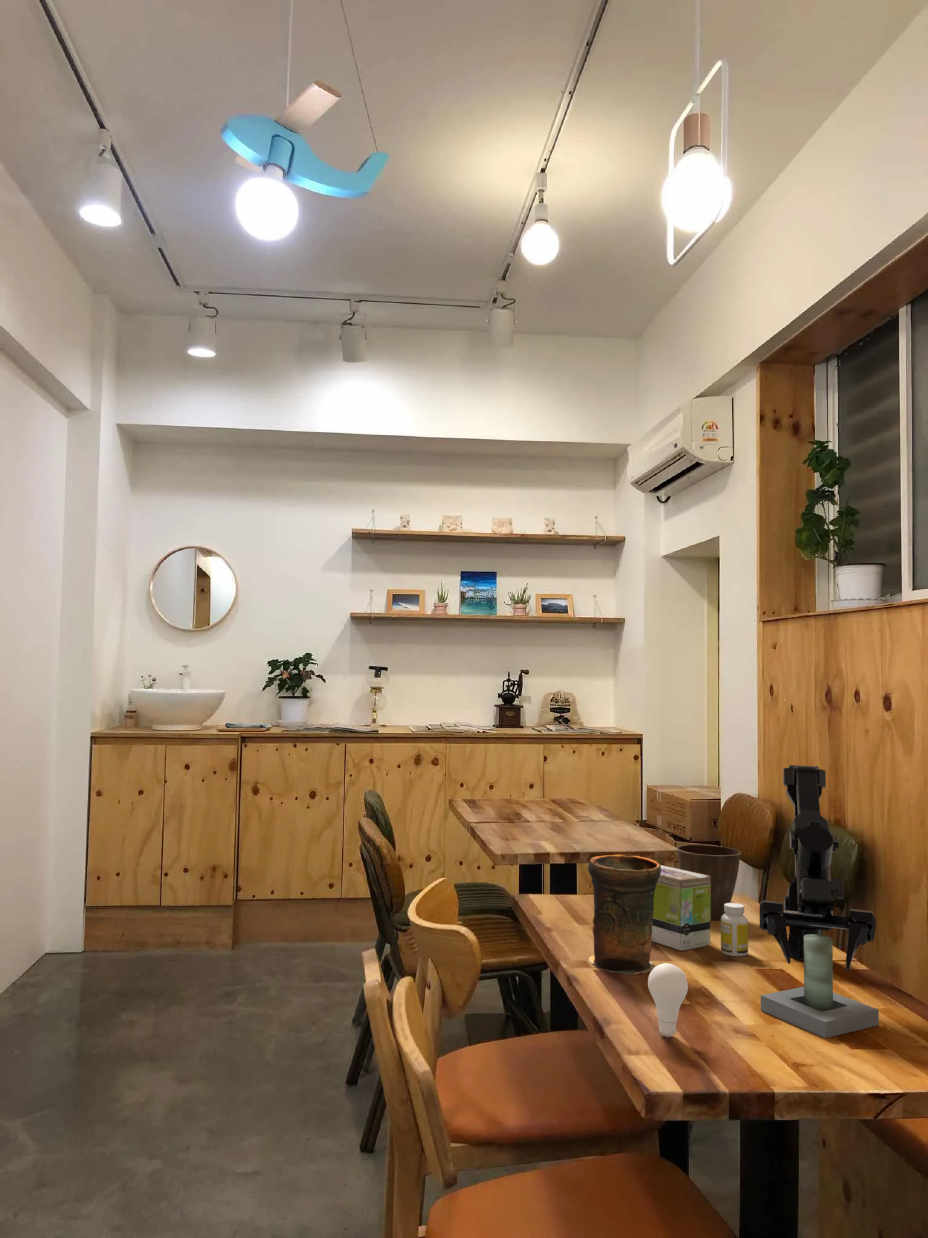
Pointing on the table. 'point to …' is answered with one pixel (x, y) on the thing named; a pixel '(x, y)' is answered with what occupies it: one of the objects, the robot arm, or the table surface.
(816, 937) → the peg
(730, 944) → the supplement bottle
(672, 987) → the lightbulb
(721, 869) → the plant pot
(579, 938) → the table surface
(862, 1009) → the holder board
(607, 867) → the vessel
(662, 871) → the tea box
